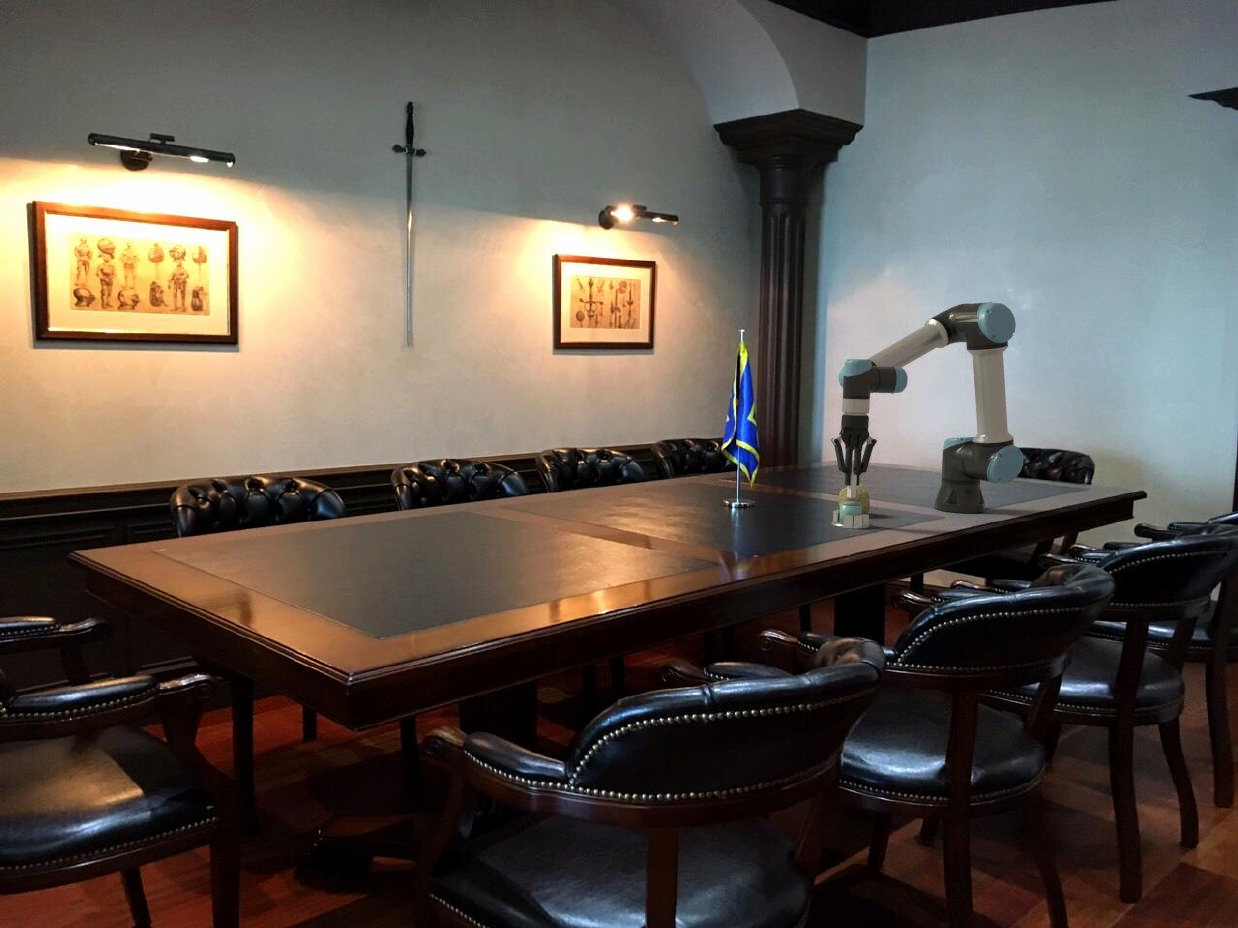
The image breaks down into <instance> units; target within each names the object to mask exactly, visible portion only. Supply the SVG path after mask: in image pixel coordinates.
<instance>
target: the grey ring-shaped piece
mask: <svg viewBox="0 0 1238 928" xmlns="http://www.w3.org/2000/svg"><path fill="white" fill-rule="evenodd" d="M832 514H833V515H832V521H831V525H832V526H833V527H836V528H843V529H853V530H854V529H858V530H859V529H867V528H870V523H869V521H870V515H869V514H862V515H847V514H844V523H843V524H841V523H839V521H840V509H835V510H833V512H832Z"/></svg>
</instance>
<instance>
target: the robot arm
mask: <svg viewBox="0 0 1238 928" xmlns="http://www.w3.org/2000/svg"><path fill="white" fill-rule="evenodd" d="M1016 325H1017V323H1016V319H1015V315H1014V314H1013V312H1012V311H1011V309H1010V308H1009V307H1008V306H1007V305H1006V304H1004V303H1001V302H992V301H990V302H988V301H987V302H977V303H975V302H974V303H960V304H957V305H954V306H951V307H950V308H947V309H946V310H944V311H942V312H939V313H938V314H936V315H935V316H933V317H931V318H929V319H928V320H926V321H925V322H924V325H923V326H922V327H921V328H919V329H916V330H915V331H914V332H911V333H910V334H908V335H906V336H905V337H903V338H901V339H899V340H898V341H896V342H894V343H892V344H890V345H889V346H887V347H885V348H883V349H882V350H880V351H878V352H877V353H875V354H873V355H871V356H870V357H868V358H866V359H865V358H861V359H860V358H848V359H846V360H845V361H844V366H843V367H842V368H841V369H840V371H839V374H838V383H839V385H840V386H841V387H842V404H841V405H842V406H841V412H842V413H843V414H842V415H841V422H840V431H839V435H838V436H835V438H834V437H832V438H831V440H830V441H831V443H832V444H833V446H834V451H835V457H836V461H837V467H838V471H839V472H841V473H844V485H845V486H846V487H847V497H850V498H856V486H859V485H860V476H861V475H862V474H864V473H866V472H867V471H868V467H869V464H870V461H871V456H872V452H873V449H874V447H875V446H876V445H877V443H878V440H877V439H876V438H873V437H872V436H871V435H870V432H869V425H870V424H869V423H870V421H869V420H870V417H869V415H868V414H870V408H871V406H870V405H871V403H870V401H871V400H870V398H871V394H892V395H893V394H900V393H902V392H904V391H905V390H906V388H907V386H908V381H909V380H908V379H909V377H908V373H907V371H906V370H905V369H904V367H906V366H907V365H909V364H911V363H913V362H914V361H916V360H917V359H919V358H921V357H923V356H925V355H926V354H928V353H930V352H931V351H933V350H935V349H937V348H938V349H943V348H945V347H947V346H949V345H953V344H956V343H957V344H958V343H966V351H967V352H968V353H969V354H970V355H971V356H972V370H973V383H974V384H973V385H974V397H975V398H974V400H975V414H976V416H975V417H976V430H977V434H976V435H975V436H967V437H963V436H962V437H949V438H946V439H945V440H944V443H943V448H942V458H941V459H942V461H941V463H942V464H941V485H940V487H939V490H938V492H937V495H936V497H935V499H934V504H933V505H934V507H933V508H934V509H935V510H937V511H942V512H948V513H961V514H976V513H977V514H978V513H980V514H981V513H983V512H985V507H986V505H985V504H986V503H985V499H984V497H983V493H982V490H981V481H983V482H989V483H992V484H1007V483H1008V484H1009V483H1011V482H1012V481H1014V480H1015V479H1016V478H1017V477H1018V475H1019V474H1020V473H1021V471H1022V470H1023V466H1024V454H1023V452H1022V451H1021V450H1020V448H1019V447H1018V446H1016V445H1015V442H1014V440H1015V439H1014V436H1013V435H1012V434H1011V433H1010V432H1009V430H1008V416H1007V415H1008V414H1007V413H1008V412H1007V398H1006V396H1007V395H1006V385H1005V384H1006V382H1005V381H1006V380H1005V378H1006V377H1005V365H1004V363H1005V362H1004V352H1005V351H1006V350H1007V348H1009V341H1010V340H1011V339H1012V338H1013V336H1014V333H1016V332H1015V331H1016V327H1017V326H1016ZM842 443H844V449H845V454H844V452H843V447H842V446H843V445H842ZM865 443H866V445H865V447H863V446H864V444H865ZM863 448H864V451H863ZM862 451H863V454H862ZM844 455H845V456H844Z"/></svg>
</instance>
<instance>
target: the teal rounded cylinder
mask: <svg viewBox="0 0 1238 928" xmlns="http://www.w3.org/2000/svg"><path fill="white" fill-rule="evenodd" d="M839 510H840V521H839V523H841V524H843V523H844V514H847V515H861V514H862V505H861V503H860V502H856V501H842V503H841V504H840V507H839Z"/></svg>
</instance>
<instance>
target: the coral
mask: <svg viewBox="0 0 1238 928" xmlns="http://www.w3.org/2000/svg"><path fill="white" fill-rule="evenodd" d="M847 487H848V486H846V487H844V488H842V489H841V490H840V492H839V495H838V506H839V508H840V504H841V503H842V501H856V502H860V503H861V505H862V514H866V515H868V513H869V511H870V504H871V502H870V495H869V492H868V489H866V487H865V486H864V485H863V484H862V483H861V484H859V486H856V498H850V497H847ZM862 514H861V515H862Z"/></svg>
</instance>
